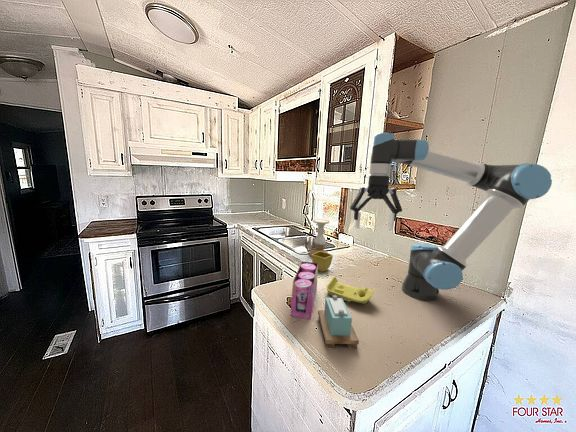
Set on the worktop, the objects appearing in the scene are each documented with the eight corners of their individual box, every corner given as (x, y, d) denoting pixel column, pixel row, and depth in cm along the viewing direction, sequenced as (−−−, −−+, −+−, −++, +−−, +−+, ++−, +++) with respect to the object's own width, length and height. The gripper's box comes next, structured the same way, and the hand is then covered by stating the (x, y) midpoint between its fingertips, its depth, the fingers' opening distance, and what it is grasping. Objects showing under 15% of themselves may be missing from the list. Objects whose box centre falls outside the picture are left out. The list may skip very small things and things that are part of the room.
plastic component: (324, 289, 105) (335, 274, 111) (328, 300, 108) (338, 285, 114) (366, 303, 92) (376, 285, 98) (370, 316, 95) (379, 298, 101)
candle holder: (314, 260, 147) (316, 222, 142) (308, 254, 157) (309, 219, 153) (330, 259, 150) (333, 222, 146) (323, 253, 160) (325, 218, 156)
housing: (350, 335, 74) (352, 314, 73) (331, 335, 74) (333, 313, 73) (340, 313, 86) (342, 294, 85) (324, 313, 86) (325, 294, 85)
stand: (344, 318, 88) (345, 310, 88) (358, 349, 73) (358, 340, 72) (317, 317, 88) (318, 310, 88) (325, 348, 72) (326, 340, 72)
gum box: (310, 322, 85) (312, 287, 83) (289, 318, 87) (290, 284, 84) (316, 291, 108) (318, 262, 106) (299, 288, 110) (301, 260, 108)
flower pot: (332, 269, 133) (333, 254, 131) (323, 274, 127) (324, 258, 125) (319, 265, 139) (320, 250, 137) (310, 269, 132) (311, 254, 131)
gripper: (405, 176, 96) (399, 227, 100) (345, 174, 96) (341, 225, 99) (416, 176, 89) (408, 231, 93) (350, 174, 88) (345, 229, 92)
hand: (373, 228), depth 96 cm, fingers open, 13 cm apart
